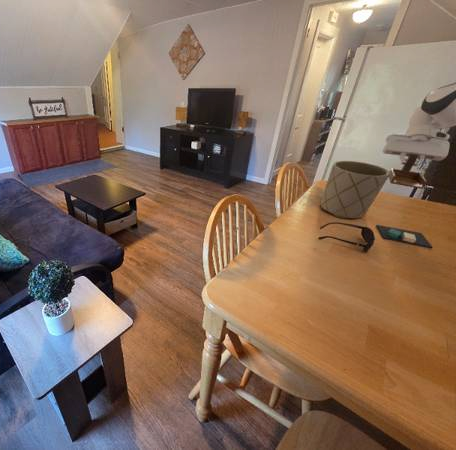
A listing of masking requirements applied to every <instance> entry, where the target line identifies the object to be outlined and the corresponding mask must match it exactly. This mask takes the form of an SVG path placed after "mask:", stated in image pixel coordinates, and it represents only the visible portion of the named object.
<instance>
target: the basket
mask: <svg viewBox="0 0 456 450" xmlns="http://www.w3.org/2000/svg"><path fill="white" fill-rule="evenodd" d="M418 156H419V155H418V154H415V153H410V155H409V157H407V159H408V160H407V163H406V164H405V165H404V164H403V166H402V168H401V169H398V168H390V170H389V172H390V176H389V177H388V180H389V182H390V184H392V185H398V186H403V187H410V188H415V189H420V190H422V189H424V188H425V186H426V184H427V183H428V181H427V179H426V177H425V176H424V175H423V172H416V171H412V168H413V167H414V166H413V165H414V163H415V161H418V160H417V159H418Z"/></svg>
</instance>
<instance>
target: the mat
mask: <svg viewBox="0 0 456 450" xmlns="http://www.w3.org/2000/svg"><path fill="white" fill-rule="evenodd" d="M376 228H377V230H378V232H379V234H380V236H381V237H382V239H383V240H387V241H388V240H389V241H393V242H398V243H403V244H408V245H412V246H417V247H418V246H419V247H423V248H428V249H433V246H432V244H431V243H430V241H428V239H427V237H425V236H424V234H423V233H422V232H418V231H413V230H409V229H403V228H397V227H391V226H385V225H380V224H376ZM391 229H395V230H398V231H400V232H402V233H401V234H400V235H399V236H398V237H397V238H393V237H391V236H388V235H387V233H388V232H389V231H390V230H391ZM404 232H405V233H409V234H413V235H415V238H416V241H415V242H414V243H412V242H408V241H404V240H403V238H402V234H403V233H404Z"/></svg>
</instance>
